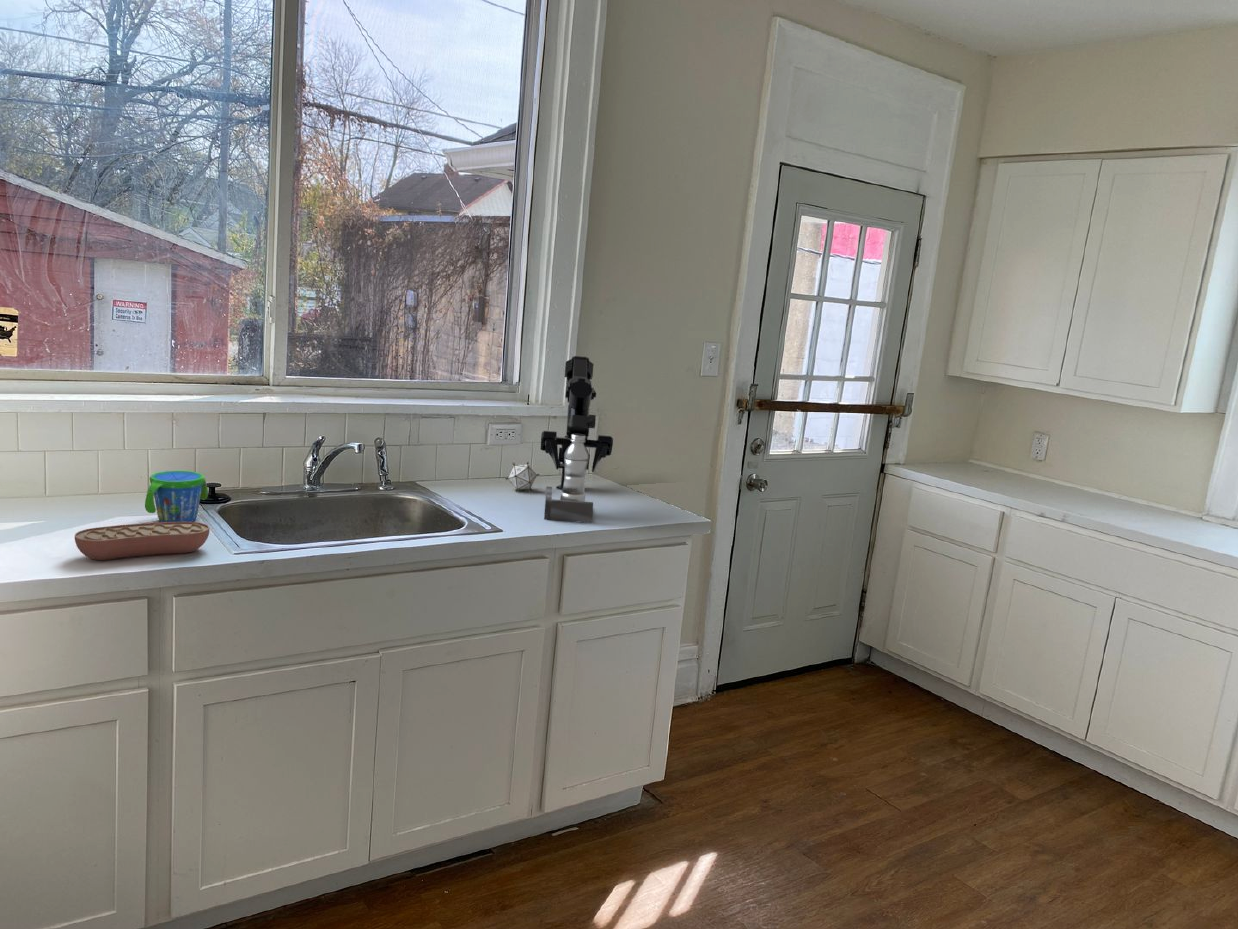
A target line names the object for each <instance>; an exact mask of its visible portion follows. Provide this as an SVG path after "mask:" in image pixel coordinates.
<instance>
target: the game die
mask: <svg viewBox="0 0 1238 929" xmlns="http://www.w3.org/2000/svg"><path fill="white" fill-rule="evenodd" d="M512 465H513V467H512V469H511V471H510V473H509V475H508V477H506V478H504V480H505V481H509V482H510V483H511V484H512V486H514V488H515V492H516V493H517V492H518V491H519V490H530V491H531V492H533V489H532V486H533V485H534V483H535V480H536V478H537V477H539V476H540V474H539V473H536V472H535V471H534V469H532V467H531V465H529V461H527V462H526V463H525V464H523V463H522V464H516V463H515V462H512Z"/></svg>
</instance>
